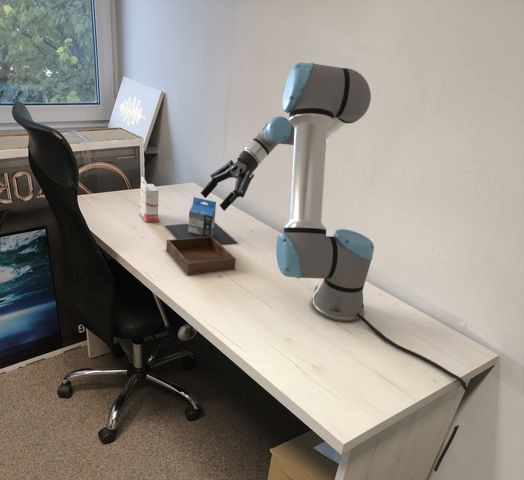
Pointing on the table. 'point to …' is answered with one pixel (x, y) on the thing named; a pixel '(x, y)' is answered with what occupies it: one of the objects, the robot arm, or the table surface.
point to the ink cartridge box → (149, 201)
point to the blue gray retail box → (202, 217)
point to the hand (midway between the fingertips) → (212, 201)
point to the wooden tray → (200, 255)
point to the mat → (218, 235)
